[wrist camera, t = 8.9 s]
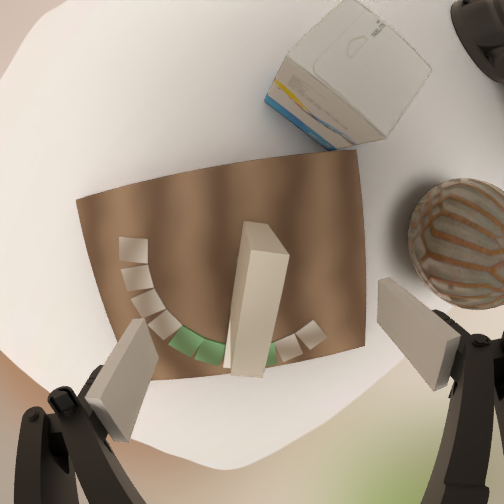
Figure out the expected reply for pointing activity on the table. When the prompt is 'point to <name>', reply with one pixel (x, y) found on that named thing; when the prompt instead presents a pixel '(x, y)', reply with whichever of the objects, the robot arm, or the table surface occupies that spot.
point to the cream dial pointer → (255, 299)
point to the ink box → (348, 79)
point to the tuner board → (232, 257)
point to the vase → (460, 243)
